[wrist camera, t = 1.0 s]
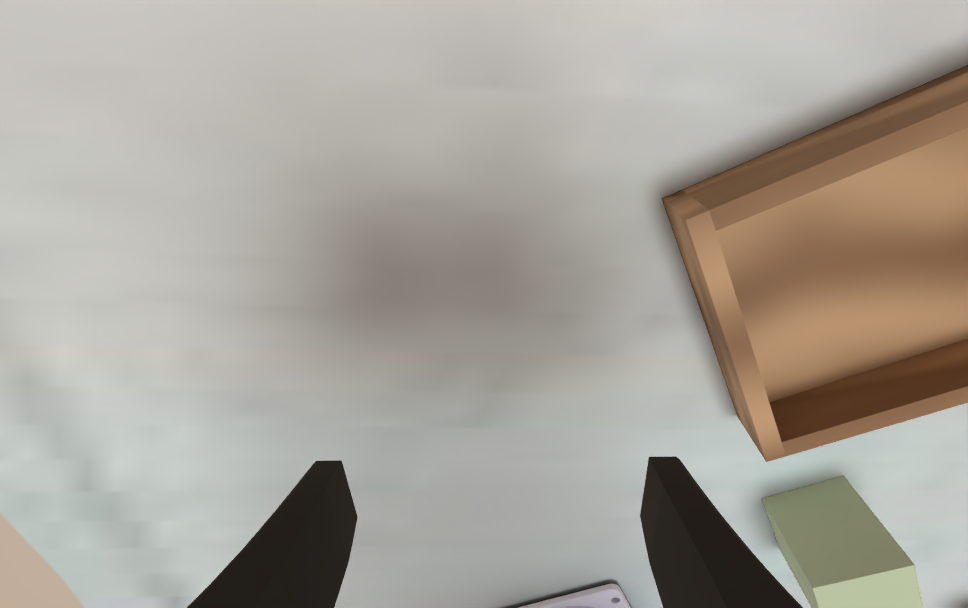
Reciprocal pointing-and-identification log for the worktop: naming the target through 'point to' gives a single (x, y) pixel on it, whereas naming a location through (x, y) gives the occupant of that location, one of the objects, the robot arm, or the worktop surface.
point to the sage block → (841, 549)
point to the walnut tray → (839, 271)
